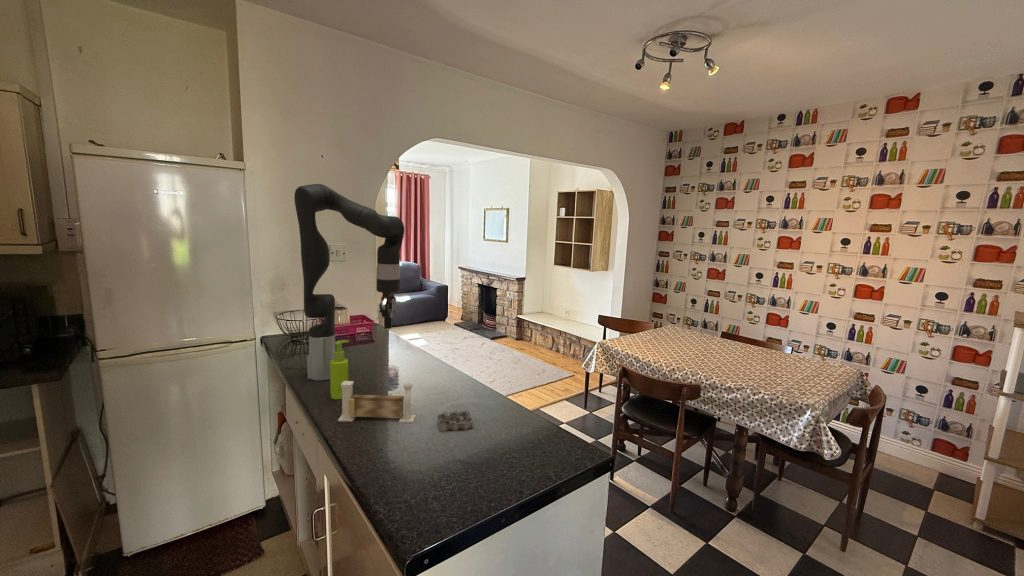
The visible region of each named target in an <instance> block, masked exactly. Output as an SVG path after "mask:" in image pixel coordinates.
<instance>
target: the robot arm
mask: <svg viewBox="0 0 1024 576" xmlns="http://www.w3.org/2000/svg"><path fill="white" fill-rule="evenodd" d="M293 197H294V205H295V211H296V217H297V222H298V228H299V229H298V230H299V236H300V257H301V258H300V259H301V267H302V268H301V269H302V276H303V311H304V313H303V314H304V315H305V317H306V318H308V319H324V321H323V322H321V323H319V324H316V325H312V326H311V327H310V328H309V329H308V344H309V345H308V347H309V354H307V356H306V359H307V361H306V362H307V363H306V366H307V368H306V369H307V380H308V379H309V380H312V381H317V382H318V381H319V382H320V381H327V380H330V361H331V360H333V359H334V351H335V350H336V345H335V344H334V342H336V331H335V327H336V326H335V321H336V320H335V318H336V298H335V296H334V295H333V294H331V293H330V294H329V293H314V292H315V291H314V290H315V288H316V286H317V284H318V282H319V280H320V279H321V278H322V277H323V275H324V274H325V273H326V271H327V270H328V268H329V266H330V248H329V245H328V242H327V240H326V239H325V238H324V236H323V235H322V234H321V233H320V231H319V229H318V226H317V220H316V213H317V212H322V211H326V210H329V211H335V212H337V213H340V214H341V216H342V217H343V218H344V219H345V221H347V222H348V223H350V224H352V225H355V226H357V227H359V228H361V229H364V230H366V231H367V232H369V233H370V234H371V235H374V236H376V237H379V238H383V239H384V242H383V244H382V245H379V246H378V247H377V252H376V253H377V254H376V255H377V256H376V257H377V258H376V259H377V260H376V262H377V264H376V271H375V272H376V274H375V275H376V276H375V277H376V278H375V279H376V286H375V287H376V289H375V290H376V292H378V293H382V296H381V298H380V303H379V309H380V313H381V317H382V318H383V319H384V321H383V328H384V329H386V330H390V329H392V328H393V317H394V314H395V309H396V304H397V303H396V302H397V298H396V296H395V293H399V292H400V291H401V267H400V266H401V265H400V262H401V261H400V260H401V258H400V257H401V256H400V254H401V253H400V250H401V247H402V246H403V245H402V244H403V240H404V236H405V225H404V222H403V220H402V219H401V218H400V217H398V216H395V215H392V216H391V215H383V214H380V213H378V212H377V211H376V210H375V209H373V208H371V207H368V206H366V205H363V204H360V203H357V202H355V201H352V200H351V199H349V198H347V197H345V196H344V195H342V194H340V193H338V192H337V191H335V190H333V189H332V188H330V187H328V186H327V185H324V184H322V183H314V184H306V185H300V186H298V187H296V189H295V192H294V196H293Z"/></svg>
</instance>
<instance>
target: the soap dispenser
mask: <svg viewBox="0 0 1024 576" xmlns="http://www.w3.org/2000/svg"><path fill="white" fill-rule="evenodd" d="M345 343H350V340H346V339H342V340H338V341H337V340H336V341H335V342H334V344H335V351H334V359H333V360H331V361H330V379H329V382H330V384H329V386H330V389H329V390H330V391H329V392H330V394H329V395H330V399H332V400H342V387H341V384H342V383H343V382H344V381H349V359H348V358H346V357H345V350H344V349H342V346H343V345H342V344H345Z"/></svg>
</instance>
